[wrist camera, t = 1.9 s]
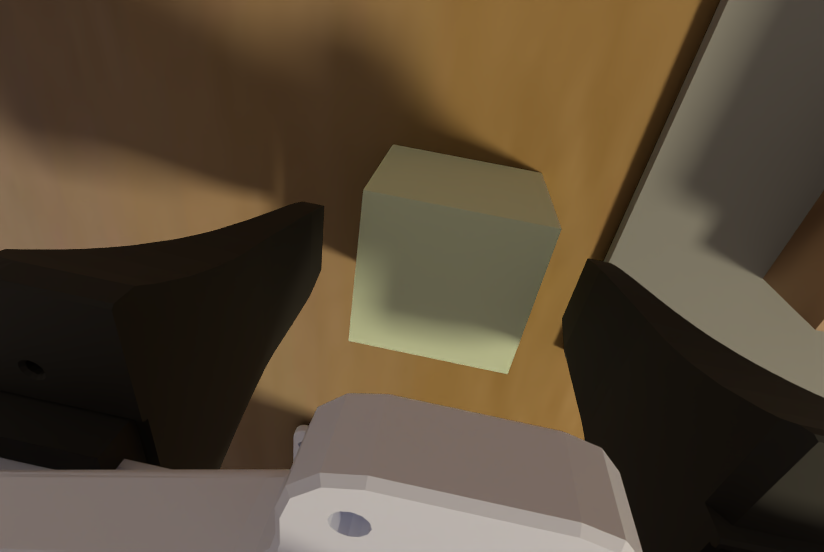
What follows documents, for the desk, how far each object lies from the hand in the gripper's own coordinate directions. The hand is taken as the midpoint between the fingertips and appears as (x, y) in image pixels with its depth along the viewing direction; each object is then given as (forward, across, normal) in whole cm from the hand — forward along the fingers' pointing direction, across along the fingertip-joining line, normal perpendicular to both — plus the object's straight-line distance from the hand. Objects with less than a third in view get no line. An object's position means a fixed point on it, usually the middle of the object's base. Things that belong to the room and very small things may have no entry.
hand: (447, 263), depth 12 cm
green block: (+3, 0, 0) cm, 3 cm away
